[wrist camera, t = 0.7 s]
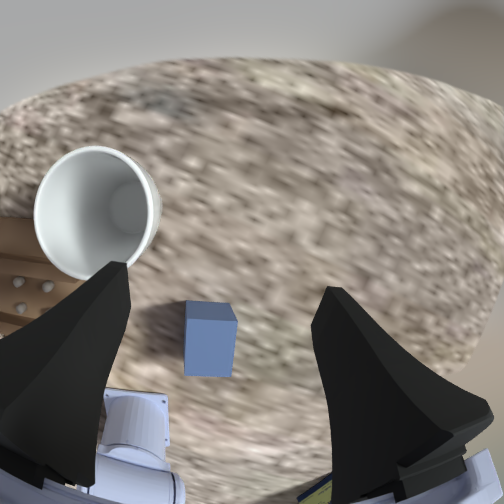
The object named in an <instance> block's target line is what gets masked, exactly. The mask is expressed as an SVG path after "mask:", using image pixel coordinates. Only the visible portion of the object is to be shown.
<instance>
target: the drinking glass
mask: <svg viewBox="0 0 504 504" xmlns="http://www.w3.org/2000/svg"><path fill="white" fill-rule="evenodd" d="M161 214H162V199H161V196H160V194H159V191H158V188H157V186H156V184H155V182H154V180H153V179H152V177H151V176H150V174H149V173H148V172H147V171H146V170H145V169H144V168H143V167H142V166H141V165H140V164H139V163H138V162H136V161H135V160H134V159H132V158H131V157H129V156H127V155H125V154H123V153H121V152H119V151H117V150H115V149H112V148H109V147H104V146H87V147H82V148H79V149H76V150H73V151H71V152H69V153H67V154H66V155H64V156H63V157H61V158H60V159H59V160H58V161H56V162H55V163H54V164H53V166H52V167H51V168H50V169H49V170H48V172H47V173H46V175H45V176H44V178H43V180H42V181H41V184H40V186H39V188H38V191H37V194H36V198H35V204H34V227H35V232H36V236H37V239H38V242H39V244H40V246H41V248H42V250H43V252H44V253H45V255H46V256H47V258H48V259H49V260H50V261H51V263H52V264H53V265H55V266H56V267H57V268H58V269H59V270H60V271H62V272H64V273H65V274H67V275H69V276H71V277H74V278H76V279H80V280H86V281H87V280H88V279H89V278H90V277H92V276H93V275H94V274H95V273H96V272H98V271H99V270H100V269H101V268H102V267H104V266H105V265H106V264H108V263H109V262H110V261H117V262H124V263H127V268H128V267H130V266H131V265H132V264H133V263H134V262H135V261H136V260H137V259H138V258H139V257H140V256H141V255H142V254H143V253H144V252H145V251H146V249H147V248H148V247H149V245H150V244H151V242H152V241H153V239H154V237H155V235H156V233H157V230H158V227H159V224H160V219H161Z"/></svg>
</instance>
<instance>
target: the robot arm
mask: <svg viewBox="0 0 504 504" xmlns="http://www.w3.org/2000/svg"><path fill="white" fill-rule="evenodd" d="M130 309H131V300H130V292H129V282H128V271H127V263H124V262H117V261H110V262H109V263H108V264H106V265H105V266H104V267H102V268H101V269H100V270H99V271H98V272H96V273H95V274H94V275H93V276H92V277H90V278H89V279H88V280H87V281H86V282H84V283H83V284H82V285H81V286H79V287H78V288H77V289H76V290H75V291H73V292H72V293H71V294H69V295H68V296H67V297H65V298H64V299H63V300H62V301H60V302H59V303H58V304H56V305H55V306H54V307H52V308H51V309H50V310H48V311H47V312H45V313H44V314H43V315H41V316H40V317H38V318H36V319H35V320H33V321H32V322H30V323H29V324H27V325H25V326H24V327H22V328H20V329H18V330H16V331H15V332H13V333H11V334H9V335H8V336H6V337H4V338H2V339H0V504H185V486H184V482H183V480H182V479H181V478H180V476H179V475H178V474H177V473H173V472H171V473H170V463H166V462H165V447H167V446H169V445H170V441H169V421H168V396H167V395H165V394H158V393H146V392H136V391H127V390H119V389H111V388H105V387H106V383H107V380H108V377H109V374H110V371H111V368H112V365H113V362H114V359H115V357H116V354H117V351H118V348H119V346H120V343H121V340H122V338H123V335H124V332H125V329H126V325H127V321H128V317H129V313H130ZM311 332H312V341H313V348H314V352H315V356H316V360H317V364H318V368H319V372H320V376H321V380H322V384H323V387H324V391H325V395H326V400H327V405H328V411H329V420H330V429H331V442H332V491H331V503H332V504H493V503H494V502H495V501H497V500H498V499H499V498H500V497H501V496H502V495H503V492H502V489H501V485H500V482H499V479H498V476H497V473H496V470H495V467H494V464H493V461H492V459H491V456H490V453H489V451H488V449H487V448H485V449H484V450H482V451H480V452H478V453H476V454H475V455H473V456H471V457H470V458H467V459H466V460H464V459H463V456H462V455H464V454H465V453H466V451H467V450H466V448H465V444H466V443H468V442H469V441H470V440H472V439H473V438H475V437H476V436H477V435H478V434H480V433H481V432H482V431H483V430H485V429H486V428H487V427H488V426H489V425H490V424H491V423H492V422H493V420H494V415H493V413H492V411H491V409H490V407H489V405H488V403H487V401H486V400H485V399H483V398H481V397H478V396H476V395H474V394H472V393H470V392H467V391H465V390H463V389H461V388H459V387H458V386H456V385H454V384H452V383H451V382H449V381H447V380H446V379H444V378H442V377H441V376H439V375H438V374H436V373H435V372H433V371H432V370H430V369H429V368H428V367H426V366H425V365H423V364H422V363H421V362H419V361H418V360H417V359H416V358H414V357H413V356H412V355H411V354H410V353H408V352H407V351H406V350H405V349H404V348H402V347H401V346H400V345H399V344H398V343H397V342H396V341H395V340H394V339H393V338H392V337H391V336H390V335H388V334H387V333H386V332H385V331H384V330H383V329H382V328H381V327H380V326H379V325H378V324H377V323H376V322H375V321H374V320H373V318H372V317H371V316H370V315H369V314H368V313H367V312H366V311H365V310H364V309H363V308H362V307H361V306H360V305H359V304H358V303H357V302H356V301H355V300H354V299H353V298H352V297H351V296H350V295H349V294H348V293H347V292H346V291H345V290H344V289H343V288H341V287H330V286H327V288H326V290H325V293H324V295H323V298H322V300H321V302H320V305H319V307H318V310H317V312H316V314H315V317H314V319H313V321H312V324H311ZM106 394H108V395H109V396H107V395H106ZM103 397H104V403H105V408H106V414H107V419H106V423H105V427H104V431H103V435H102V440H101V444H99V445H98V449H97V454H96V445H97V434H98V426H99V419H100V412H101V407H102V401H103ZM162 400H164V401H165V402H163V401H162ZM65 483H67V484H70V485H72V486H75V484H77V490H75V489H72V488H70V487H67V486H65Z"/></svg>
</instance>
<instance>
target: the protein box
mask: <svg viewBox="0 0 504 504" xmlns="http://www.w3.org/2000/svg"><path fill="white" fill-rule="evenodd" d="M331 491H332V473H331V474H330V475H329V476H327V477H326V478H325V479H323V480H322V481H321V482H319V483H318V484H316V485H315V486H314V487H312V488H311V489H309V490H308V491H306V492H305V493H303V494H302V495H300V496H299V497H297V500H298V502H299V504H332V503H331Z"/></svg>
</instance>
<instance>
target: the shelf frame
mask: <svg viewBox="0 0 504 504" xmlns="http://www.w3.org/2000/svg"><path fill="white" fill-rule="evenodd" d="M84 282H86V280H80V279H76V278H74V277H71V276H69V275H67V274H65V273H64V272H62V271H60V270H59V269H58V268H57V267H56V266H55V265H53V264H52V263H51V261H50V260H49V259H48V258H47V256H46V255H45V253H44V252H43V250H42V248H41V246H40V244H39V242H38V239H37V236H36V232H35V227H34V219H29V218H15V217H0V333H1V334H4V336H5V337H6V336H8V335H9V334H11V333H13V332H15V331H16V330H18V329H20V328H22V327H24V326H25V325H27V324H29V323H30V322H32V321H33V320H35V319H36V318H38V317H40V316H41V315H43V314H44V313H45V312H47V311H48V310H50V309H51V308H52V307H54V306H55V305H56V304H58V303H59V302H60V301H62V300H63V299H64V298H65V297H67V296H68V295H69V294H71V293H72V292H73V291H75V290H76V289H77V288H78V287H79V286H81V285H82V284H83V283H84Z"/></svg>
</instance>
